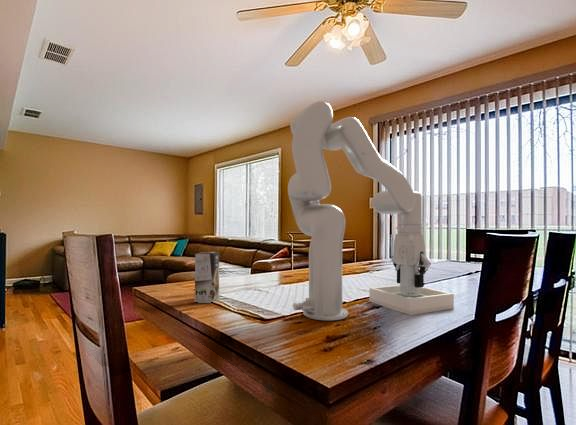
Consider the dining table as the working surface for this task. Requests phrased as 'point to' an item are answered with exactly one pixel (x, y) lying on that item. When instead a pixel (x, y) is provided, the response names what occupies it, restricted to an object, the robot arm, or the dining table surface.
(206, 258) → the coffee box
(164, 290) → the dining table surface
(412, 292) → the skincare box
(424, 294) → the tray
